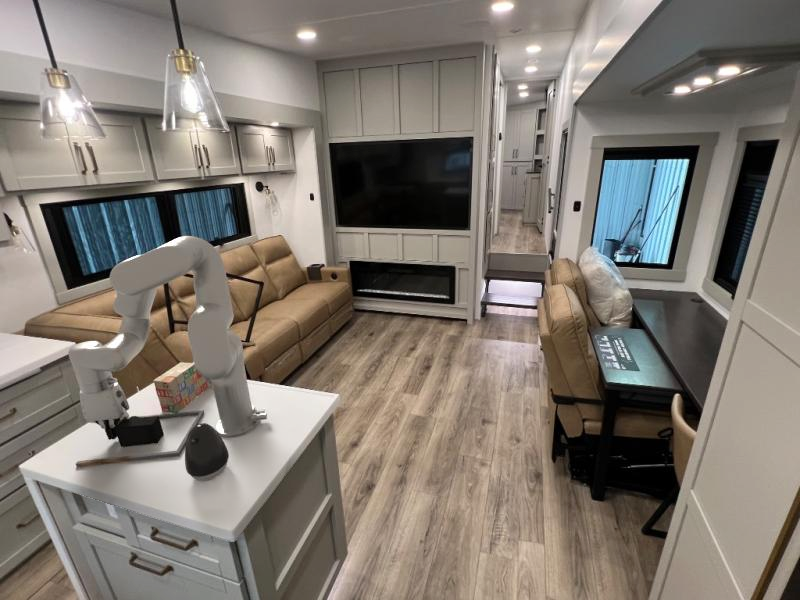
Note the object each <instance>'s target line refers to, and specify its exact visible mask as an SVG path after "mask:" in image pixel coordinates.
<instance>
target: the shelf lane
mask: <svg viewBox="0 0 800 600" xmlns="http://www.w3.org/2000/svg"><path fill="white" fill-rule="evenodd" d="M162 414H163V413H162ZM162 414H161V413H160V414H151V415H150V414H149V415H139V416H138V417H150V416H159V419H160V420H163V419H162V417H161V416H162ZM130 417H131V416H129V417H128V418H127V419H129V418H130ZM119 423H120V421H119V422H118V424H119ZM132 455H133V454H132ZM132 455H125V456H123V455H122V456H114V457H105V458H97V459H96V458H95V459H86V460H85V459H84V460H78V461H76V462H75V466H76V468H81V466H84V467H92V466H100V465H101V466H102V465H109V464H119V463H129V462H132V461H131V460H130V457H131V456H132Z"/></svg>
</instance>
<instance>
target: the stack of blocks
mask: <svg viewBox="0 0 800 600" xmlns="http://www.w3.org/2000/svg"><path fill="white" fill-rule="evenodd" d="M153 384H154V387H155V392H156V396H157V398H158V400H159V405H160V409H161V411H162V412H167V413H180V412H181V411H182V410H183V409H185V408H186V407H187V406H188V405H190V404H191V403H192V402H193V401H195V400H196V399H197V398H198V397H200V395H201V393H202V392H203V393H204V392H205V391H207V390H208V389H209V388H210V387H211V386H213V385H212V381H211V380H210V379H207V378H204V377H203V376H202V375H200V373H199V372H198V371H197V369H196V367H195V364H194V361H193V362H182V361H181V362H179V363H177V364H176V365H175V366H172V368H170V369H168V370H167V371H166V372H164V373H163V374H161V375H159V376H158V377H156V378H155V379H154V380H153ZM203 393H202V394H203ZM197 396H198V397H197ZM196 397H197V398H196ZM195 398H196V399H195ZM194 399H195V400H194ZM191 401H192V402H191ZM190 402H191V403H190ZM189 403H190V404H189ZM186 405H187V406H186ZM185 406H186V407H185ZM181 409H182V410H181ZM180 410H181V411H180Z"/></svg>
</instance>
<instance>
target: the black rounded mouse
mask: <svg viewBox="0 0 800 600" xmlns="http://www.w3.org/2000/svg"><path fill="white" fill-rule="evenodd" d="M229 455H230V453H229V450H228V448H227V446H226V444H225V441H224V439H223V438H222V436H221V435H219V433H218V432H217V429H215V428H214V426H212V425H211V424H208V423H206V422H201V423H200V422H199V424H197V425H195V426H194V427H193V428H192V429H191V430H190V432H189V434H188V437H187V441H186V446H185V448H184V463H185V464H184V465H185V470H186V473H187V475H189V476H191V478H193V479H194V480H196V481H199V482H207V481H211V480H213V479H215V478H217V477H219V476H220V475H221V474H222V473H223V472H224V471H225V469H226V467H227V465H228V461H229Z"/></svg>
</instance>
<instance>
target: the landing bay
mask: <svg viewBox="0 0 800 600" xmlns="http://www.w3.org/2000/svg"><path fill="white" fill-rule="evenodd" d="M204 413H206V412H205V410H204V409H201V410H193V411H192V410H191V411H183V412H182V411H179V412H178V413H174V412H168V413H162V416H161V417H162V419H161V420H166V419H177V418H187V417H188V416H189V417H196V418H195V420H194V421H193V423H192V424H191V426H190V427H189V430H188V431H187V433H186V434H185V436H184V438H183V439H182V441H181V443H180V444H179V446H178V448H177V449H176V450H169V451H161V452H153V453H150V452H149V453H142V454H141V453H140V454H132V456H131V455H130V456H131V457H130V460H131V461H130V462H137V461H138V462H139V461H146V460H157V459H158V460H159V459H166V458H174V457H180V456H181V455H182V453H183V451H185V447H186V441H187V437H188V434H189V432H190V430H191V429H192V428H193V427H194V426H195V425H197V424H200V422H201V420H202V419H203V417H204V415H205V414H204ZM189 417H188V418H189Z"/></svg>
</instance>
